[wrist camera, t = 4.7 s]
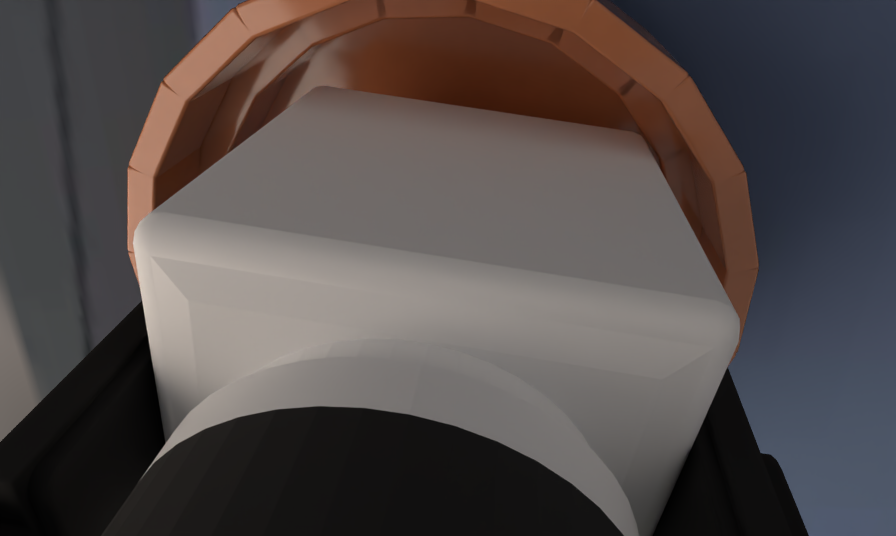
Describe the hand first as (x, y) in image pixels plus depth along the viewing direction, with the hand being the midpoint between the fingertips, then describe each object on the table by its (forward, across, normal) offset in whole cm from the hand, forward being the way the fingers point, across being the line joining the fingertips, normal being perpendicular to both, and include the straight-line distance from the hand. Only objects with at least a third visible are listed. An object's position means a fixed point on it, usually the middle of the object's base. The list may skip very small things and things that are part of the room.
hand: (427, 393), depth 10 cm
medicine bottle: (+5, 0, 0) cm, 5 cm away
